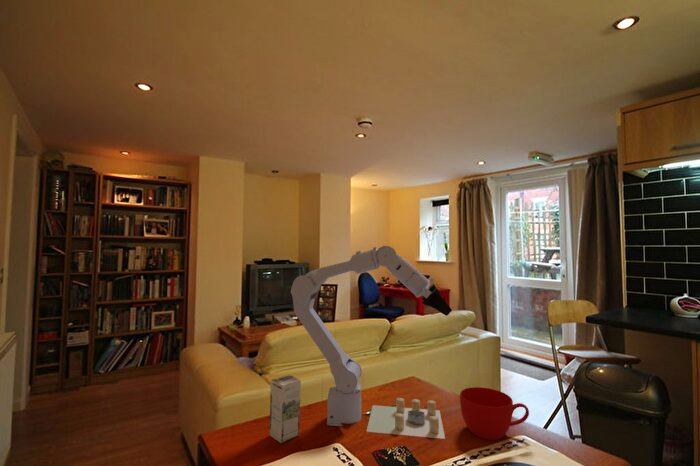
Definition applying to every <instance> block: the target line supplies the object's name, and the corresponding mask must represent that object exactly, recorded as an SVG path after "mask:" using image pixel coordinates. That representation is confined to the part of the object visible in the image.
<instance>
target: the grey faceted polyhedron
mask: <svg viewBox="0 0 700 466" xmlns="http://www.w3.org/2000/svg"><path fill="white" fill-rule="evenodd" d="M408 423H410V424H413V425H416V426H418V425H423V424H425V415H424V412H421V411H418V410H412V411H408Z"/></svg>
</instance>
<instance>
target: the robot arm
mask: <svg viewBox="0 0 700 466" xmlns="http://www.w3.org/2000/svg"><path fill="white" fill-rule="evenodd" d="M381 266H382V267H385V269H387V270H388V271H389V272H390V273H391V275H392V276H394V277H395V278H396V280H398V281H399V282H400V283H401V284H403V286H404V287H405V288H407V289H408V290H409V291H410V293H412V294H413V295H414V296H415V297H416V298H420V297H421V300H422V301H421V304H423V305H424V306H428V307H430V308H433V309H434V310H436V311H438V312H439V313H440V314H443V315H444V316H446V317H447V316H449V315H450V313H451V312H452V308H451V307H450V305H449V304H448V303H447V302H446V300H445V299H444V298H443V297H442V295H441V294H440V291H439V289H438V288H437V287H436V285H435V284H434V283H433V284H432V282H433V281H434V278H433V277H430V279H428V278H427V277H426V276H425V275H424V274H423V273H421V272H420V271H419V270H418V269H417V268H416V267H414V265H413V264H411V263H410V262H409V261H408V260H407V259H405V258H403V257H402V255H400V254H399V253H397V251H396V250H395V249H394V248H393V247H392V246H389V245H382V246H381V247H379V248H377V246H375V247H372V249H369V250H367V251H366V250H365V251H363V252H362V251H360V250H358V251H356V252H355V254H352V256H351V257H350V259H349V260H347V261H344V262H343V261H342V262H339V263H335V264H330V265H327V266H323V267H320V268H317V269H314V270H311V271H309V272H307V273H305V275H300V276H297V277H296V278H295V279H294V280H293V282H292V286H291V289H290V294H291V296H292V305H293V313H294V314H295V316H296V317H297V319H298V320H299V322H300V323H301V324H302V326H303V327H304V328H305V331H306V332H307V333H308V335H309V336H310V338H311V339H312V341H313V342H314V343H315V345H316V347H317V348H318V349H319V351H320V352H321V354H322V355H323V357H324V358H325V360H327V362H328V364H329V369H330V373H331V375H332V376H333V379H334V383H335V386H331V387H330V388H329V389H328V393H327V394H328V395H327V407H326V408H327V414H326V415H327V417H326V418H327V420H326V421H327V422H326V425H327V426H331V427H332V426H333V427H344V425H343V424H355V423H358V422H360V421H361V419H362V385H361V384H360V382H359V380H360V378H361V377H362V367H361V365H360V363H358V362H357V361H356V360H354V359H353V358H352V357H351V356H350V355H349V354H348V353H346V352H344V351H343V349H342V348H341V346H340V344H339V343H338V342H337V340H336V339H335V338H334V336H333V335H332V333H331V332H330V330H329V329H328V327H327V326H326V325H325V323H324V322H323V320H322V319H321V318H320V316H319V314H318V313H317V312H316V310H315V309H314V305H315V300H316V297H317V295H318V293H319V292H320V290H321V287H322V284H325V283H326V282H327V280H328V279H329V278H332V277H335V276H338V275H342V274H346V273H348V272H354V273H356V274H358V275H359V274H364V273H367V272H370V271H373V270H374V271H375V270H377V269H379V268H380V267H381Z"/></svg>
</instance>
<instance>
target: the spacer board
mask: <svg viewBox="0 0 700 466" xmlns="http://www.w3.org/2000/svg"><path fill="white" fill-rule="evenodd" d="M395 402H396V403H395V406H387V405H375V404H373V405H372V406H371V411H370V414H369V420H368V424H367V427H366V428H367V429H366V432H367V433H377V434H378V433H379V434H385V435H388V434H389V435H397V436H408V437H410V436H411V437H420V438H423V437H424V438H431V439H441V440H446V437H445V430H444V426H443V421H442V417H441V416H442V415H441V411H440V410H439V409H438V410H437V405H436V404H437V402H436V401H435V400H431V399H429V400H427V401H426V402H427V403H426V404H427V407H426V409H425V408H421V400H420V399H418V398H414V399H411V407H405V406H406V405H405V399H404V398H402V397H397V398H396V400H395ZM412 410H418V411H421V412H424V415H425V424H423V425H418V426H416V425H413V424H410V423H408V411H412Z"/></svg>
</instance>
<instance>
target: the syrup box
mask: <svg viewBox="0 0 700 466" xmlns="http://www.w3.org/2000/svg"><path fill="white" fill-rule="evenodd" d="M301 384H302V381H301V380H300V379H299V378H297V377H296V376H294V375H291V374H286V375H283V376H280V377H276V378H272V379H271V380H270V392H269V393H270V394H269V396H270V397H269V402H270V403H269V426H268V427H269V429H268V430H269V431H268V432H269V433H268V434H269V436H270V437H271V438H273V440H276V441H278V443H280V444H283V443H285V442H287V441H290V440H292V439H295V438H296V437H298V436H300V423H301V421H300V418H301Z"/></svg>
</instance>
